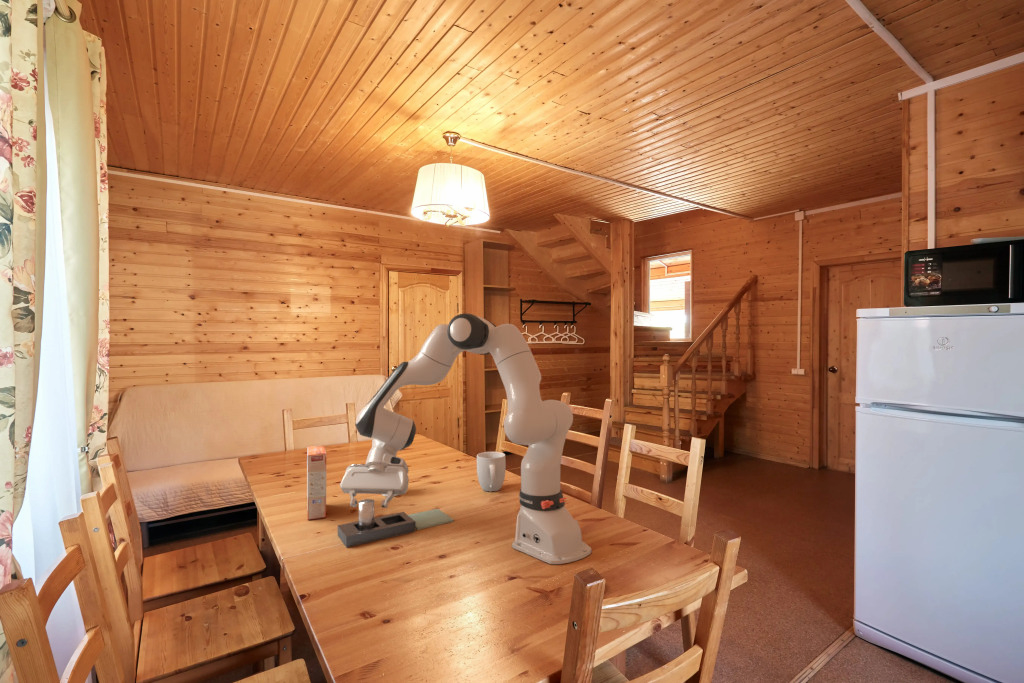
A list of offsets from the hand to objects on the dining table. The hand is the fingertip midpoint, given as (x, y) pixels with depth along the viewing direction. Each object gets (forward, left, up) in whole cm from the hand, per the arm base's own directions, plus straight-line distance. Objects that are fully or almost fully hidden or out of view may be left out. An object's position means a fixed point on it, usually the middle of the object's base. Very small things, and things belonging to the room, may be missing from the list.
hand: (368, 506), depth 143 cm
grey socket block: (-1, -2, -8) cm, 8 cm away
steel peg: (-1, +1, -8) cm, 8 cm away
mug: (+16, -51, -8) cm, 54 cm away
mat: (+1, -19, -8) cm, 21 cm away
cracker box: (+28, +9, -8) cm, 30 cm away
